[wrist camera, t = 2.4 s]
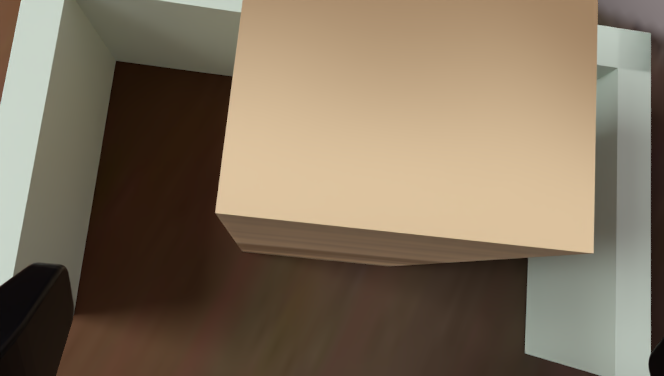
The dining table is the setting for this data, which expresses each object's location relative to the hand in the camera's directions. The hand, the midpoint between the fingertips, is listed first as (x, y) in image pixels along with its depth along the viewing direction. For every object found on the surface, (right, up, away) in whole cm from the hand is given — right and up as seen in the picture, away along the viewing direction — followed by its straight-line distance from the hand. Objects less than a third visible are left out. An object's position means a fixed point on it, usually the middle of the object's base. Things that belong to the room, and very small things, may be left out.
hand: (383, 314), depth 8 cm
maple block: (-1, +2, +11) cm, 11 cm away
